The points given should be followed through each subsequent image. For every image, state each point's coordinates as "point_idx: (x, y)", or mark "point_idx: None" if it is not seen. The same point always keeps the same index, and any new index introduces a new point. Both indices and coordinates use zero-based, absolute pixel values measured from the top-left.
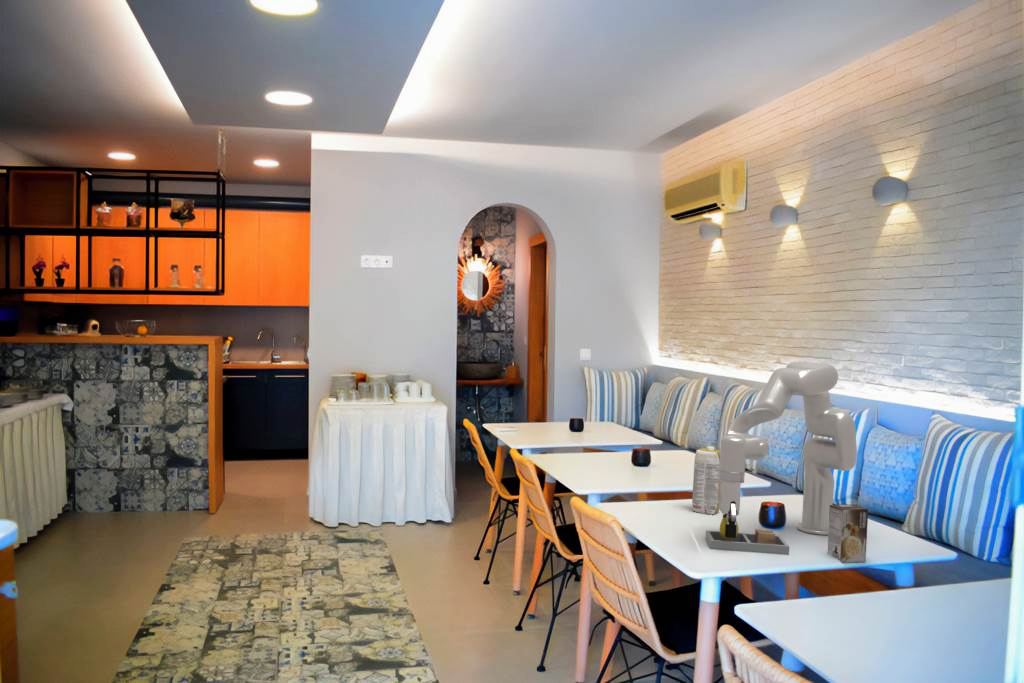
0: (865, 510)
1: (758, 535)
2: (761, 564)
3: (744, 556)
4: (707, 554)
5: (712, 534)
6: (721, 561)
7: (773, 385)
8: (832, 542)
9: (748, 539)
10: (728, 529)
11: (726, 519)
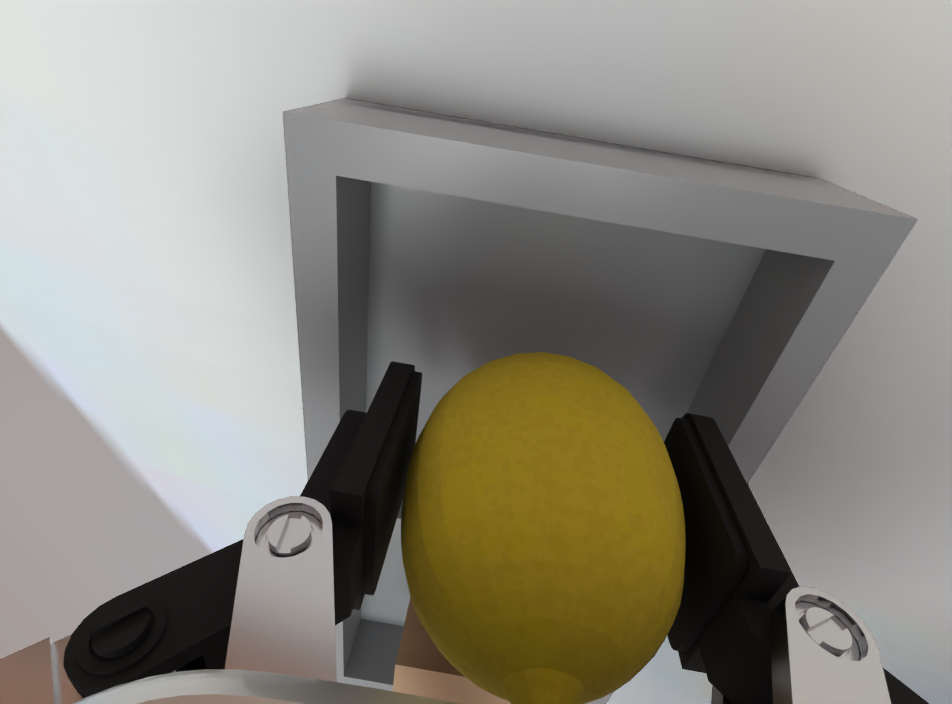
0: None
1: (402, 639)
2: (132, 434)
3: (299, 393)
4: (236, 23)
5: (789, 287)
6: (29, 125)
7: None
8: None
9: None
10: (338, 457)
11: (478, 593)
